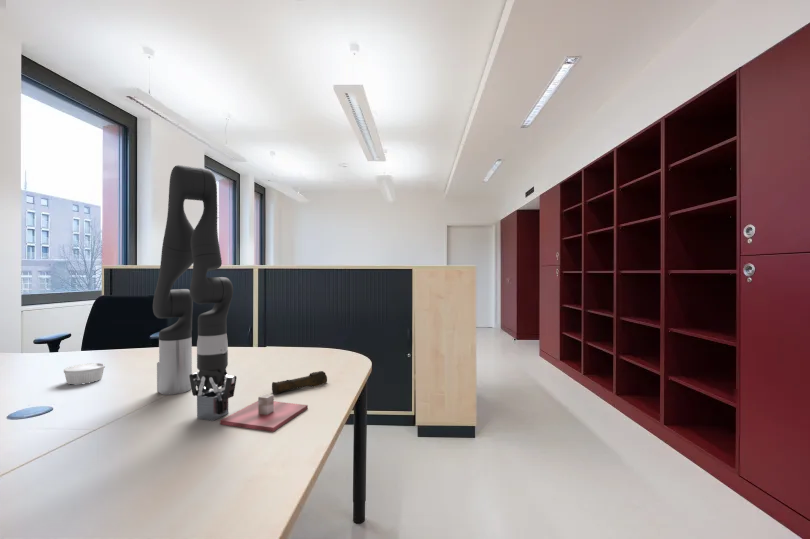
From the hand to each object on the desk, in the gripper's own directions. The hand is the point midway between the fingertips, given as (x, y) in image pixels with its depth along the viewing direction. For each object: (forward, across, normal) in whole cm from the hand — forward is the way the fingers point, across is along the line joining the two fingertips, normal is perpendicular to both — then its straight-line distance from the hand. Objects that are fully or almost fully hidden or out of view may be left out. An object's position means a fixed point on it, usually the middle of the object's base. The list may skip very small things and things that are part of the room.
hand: (213, 412), depth 105 cm
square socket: (+1, 0, 0) cm, 1 cm away
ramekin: (+1, -68, +13) cm, 69 cm away
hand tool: (+1, +10, +28) cm, 30 cm away
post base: (+1, +14, +4) cm, 15 cm away
